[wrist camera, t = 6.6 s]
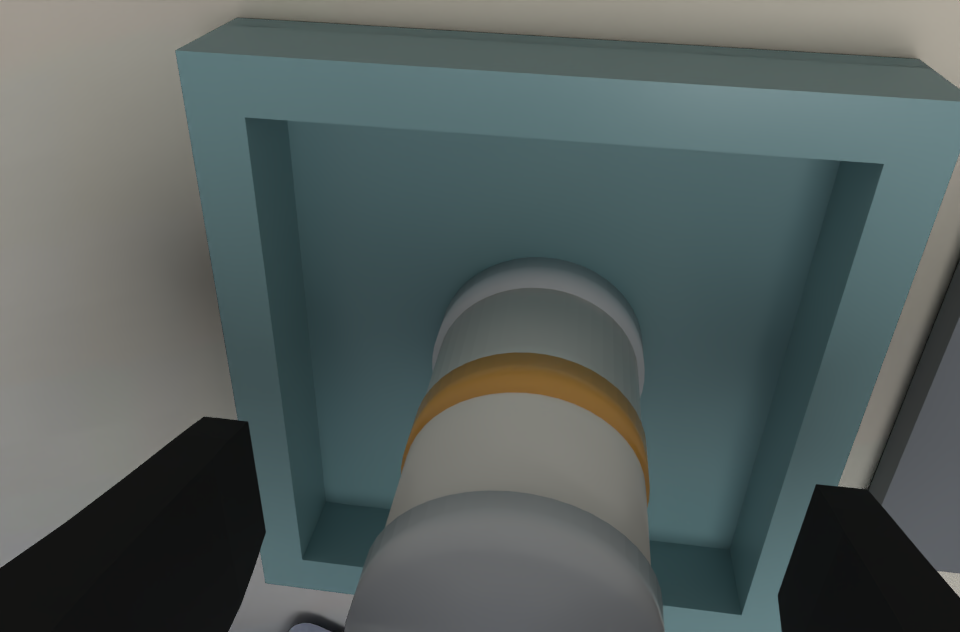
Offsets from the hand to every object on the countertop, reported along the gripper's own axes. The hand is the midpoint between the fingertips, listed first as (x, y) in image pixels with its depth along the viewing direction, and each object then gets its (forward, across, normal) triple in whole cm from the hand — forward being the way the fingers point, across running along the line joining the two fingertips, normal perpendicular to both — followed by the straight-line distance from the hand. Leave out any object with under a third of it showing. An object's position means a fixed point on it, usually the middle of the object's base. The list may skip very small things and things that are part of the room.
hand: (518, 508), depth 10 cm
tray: (+4, 0, 0) cm, 4 cm away
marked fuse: (+4, 0, 0) cm, 4 cm away
